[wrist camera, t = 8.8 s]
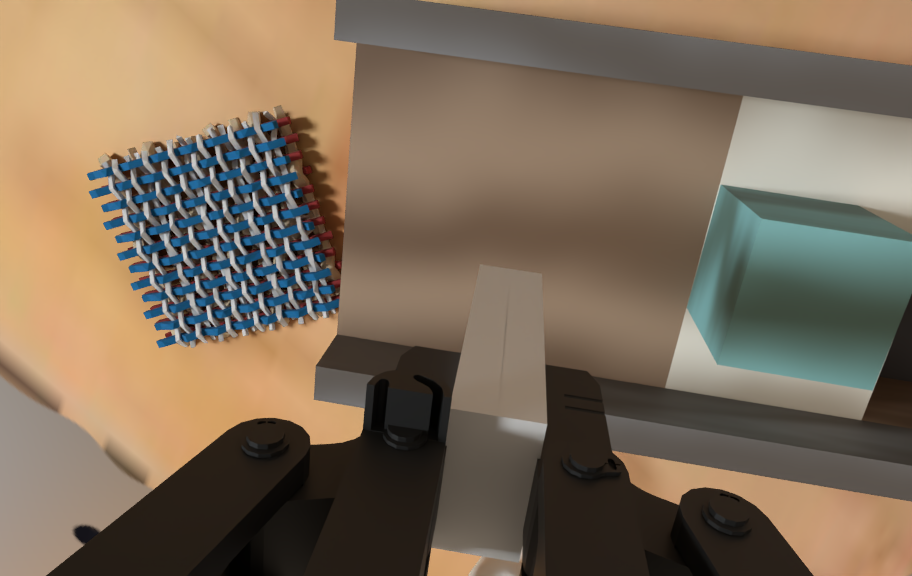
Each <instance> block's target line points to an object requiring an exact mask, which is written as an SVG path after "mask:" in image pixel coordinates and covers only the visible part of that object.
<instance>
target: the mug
mask: <svg viewBox="0 0 912 576" xmlns="http://www.w3.org/2000/svg"><path fill="white" fill-rule="evenodd" d="M522 549H523V546H522ZM521 565H522V550H521V555H520V560H519V563H518V562H512V561H506V560H500V559H495V558H489V557H483V556H482V557H481V558H480V559H479V561H478V562H477V563H476V565H475V566H474V567H473V569H472V570H471V572H470V573H469V575H468V576H519V574H520V570H521Z"/></svg>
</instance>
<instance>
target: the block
mask: <svg viewBox="0 0 912 576" xmlns="http://www.w3.org/2000/svg"><path fill="white" fill-rule="evenodd" d="M911 294H912V234H910V233H908V232H906V231H905V230H903V229H901V228H899V227H897V226H895V225H893V224H892V223H890V222H888V221H886V220H884V219H882V218H881V217H879V216H877V215H875V214H873V213H871V212H869V211H868V210H866V209H864V208H862V207H860V206H858V205H852V204H845V203H839V202H832V201H825V200H819V199H812V198H806V197H799V196H793V195H786V194H780V193H773V192H766V191H760V190H753V189H747V188H740V187H734V186H727V185H721V186H720V189H719V193H718V196H717V200H716V204H715V207H714V211H713V214H712V218H711V222H710V225H709V229H708V232H707V236H706V240H705V243H704V247H703V250H702V254H701V258H700V261H699V265H698V269H697V272H696V276H695V279H694V283H693V287H692V290H691V294H690V297H689V301H688V305H687V309H688V311H689V313H690V315H691V317H692V319H693V320H694V322H695V324H696V326H697V328H698V330H699V332H700V333H701V335H702V337H703V339H704V341H705V343H706V345H707V346H708V348H709V350H710V352H711V354H712V356H713V358H714V360H715V361H716V363H717V365H722V366H728V367H734V368H740V369H746V370H752V371H758V372H764V373H770V374H776V375H782V376H788V377H794V378H799V379H805V380H811V381H817V382H823V383H829V384H835V385H841V386H847V387H853V388H859V389H865V390H871V391H873V388H874V386H875V383H876V381H877V378H878V376H879V374H880V371H881V369H882V366H883V364H884V361H885V359H886V356H887V354H888V351H889V349H890V346H891V344H892V341H893V339H894V336H895V334H896V331H897V329H898V327H899V324H900V322H901V319H902V317H903V314H904V312H905V309H906V307H907V304H908V302H909V299H910V297H911Z"/></svg>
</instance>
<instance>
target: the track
mask: <svg viewBox="0 0 912 576" xmlns="http://www.w3.org/2000/svg"><path fill="white" fill-rule="evenodd" d="M334 40H339V41H347V42H354V43H357V47H356V62H355V77H354V91H353V106H352V121H351V136H350V151H349V166H348V180H347V195H346V210H345V225H344V240H343V255H342V270H341V284H340V299H339V314H338V329H337V335H336V337H335V338H334V340H333V341H332V343H331V344H330V346H329V347H328V349H327V350H326V352H325V353H324V355H323V356H322V358H321V359H320V361H319V362H318V364H317V365H316V373H315V390H314V400H319V401H325V402H331V403H337V404H343V405H349V406H355V407H360V408H365V399H366V387H367V383H368V382H369V381H370V380H371V379H372V378H373V377H374V376H376V375H378V374H381V373H383V372H385V371H392V370H396V367H397V365H398V362H399V359H400V357H401V355H403V354H404V353H406V352H407V351H408V350H410V349H411V348H413V347H414V346H421V347H427V348H433V349H440V350H446V351H452V352H458V353H461V352H462V347H463V342H464V338H465V333H466V328H467V324H468V319H469V314H470V310H471V305H472V300H473V296H474V291H475V286H476V282H477V277H478V272H479V268H480V264H481V265H488V266H494V267H501V268H508V269H514V270H521V271H527V272H534V273H541V274H542V290H543V318H544V347H545V364H546V365H552V366H558V367H565V368H571V369H577V370H584V371H588V372H589V373H590V375H591V376H592V377H593V378H594V379H595V380H596V381H597V383H598V384H599V385H600V388H601V394H602V399H603V401H602V403H603V404H604V410H605V415H606V421H607V426H608V432H609V437H610V443H611V448H612V450H613V451H619V452H625V453H630V454H636V455H642V456H648V457H654V458H660V459H666V460H671V461H677V462H683V463H689V464H695V465H701V466H707V467H713V468H718V469H724V470H730V471H736V472H742V473H748V474H754V475H759V476H765V477H771V478H777V479H783V480H789V481H795V482H801V483H806V484H812V485H818V486H824V487H830V488H836V489H842V490H848V491H853V492H859V493H865V494H871V495H877V496H883V497H889V498H894V499H900V500H906V501H912V294H911V297H910V299H909V302H908V304H907V307H906V309H905V312H904V314H903V317H902V319H901V322H900V324H899V327H898V329H897V331H896V334H895V336H894V339H893V341H892V344H891V346H890V349H889V351H888V354H887V356H886V359H885V361H884V364H883V366H882V369H881V371H880V374H879V376H878V378H877V381H876V383H875V386H874V388H873V391H871V390H865V389H859V388H853V387H847V386H841V385H835V384H829V383H823V382H817V381H811V380H805V379H799V378H794V377H788V376H782V375H776V374H770V373H764V372H758V371H752V370H746V369H740V368H734V367H728V366H722V365H717V363H716V361H715V360H714V358H713V356H712V354H711V352H710V350H709V348H708V346H707V345H706V343H705V341H704V339H703V337H702V335H701V333H700V332H699V330H698V328H697V326H696V324H695V322H694V320H693V319H692V317H691V315H690V313H689V311H688V309H687V305H688V301H689V297H690V294H691V290H692V287H693V283H694V279H695V276H696V272H697V269H698V265H699V261H700V258H701V254H702V250H703V247H704V243H705V240H706V236H707V232H708V229H709V225H710V222H711V218H712V214H713V211H714V207H715V204H716V200H717V196H718V193H719V189H720V186H721V185H727V186H734V187H740V188H747V189H753V190H760V191H766V192H773V193H780V194H786V195H793V196H799V197H806V198H812V199H819V200H825V201H832V202H839V203H845V204H852V205H858V206H860V207H862V208H864V209H866V210H868V211H869V212H871V213H873V214H875V215H877V216H879V217H881V218H882V219H884V220H886V221H888V222H890V223H892V224H893V225H895V226H897V227H899V228H901V229H903V230H905V231H906V232H908V233H910V234H912V66H910V65H903V64H895V63H888V62H880V61H872V60H865V59H857V58H850V57H842V56H835V55H827V54H819V53H812V52H804V51H797V50H789V49H782V48H774V47H766V46H759V45H751V44H744V43H736V42H729V41H721V40H713V39H706V38H698V37H691V36H683V35H676V34H668V33H660V32H653V31H645V30H638V29H630V28H623V27H615V26H607V25H600V24H592V23H585V22H577V21H570V20H562V19H554V18H547V17H539V16H532V15H524V14H517V13H509V12H501V11H494V10H486V9H479V8H471V7H464V6H456V5H448V4H441V3H433V2H426V1H418V0H336V15H335V33H334Z"/></svg>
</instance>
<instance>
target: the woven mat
mask: <svg viewBox="0 0 912 576" xmlns="http://www.w3.org/2000/svg"><path fill="white" fill-rule="evenodd" d="M273 110H274V114H275V117H276V118H275V117H273V116H272V115H271V114H270V113H269V112H268V111H265V112H263V114H264V116H265V117H266V118H267V119H269V120H270V121H269V122H265V123H261V117H260V112H248V122H246V121H244V122H243V123H240V121H239V119H238V117H237V118H233V119H230V120H228V121H229V126H228V127H227V131H228V133H226V132H225V129H224V126H223V125H219V126H217V127H218V129H217V128H216V127H215V126H214V125H212V124H211V123H209V124H208V125H207V126H206V127H205V128H204V129H203V130H202V131H203V132H204V133H205V135H206V136H207V138H208V139H205V140H203V139H202V135H200V134H198V135H196V136H191V137H189V138H186V139H185V140H186V142H187V143H186V142H185V141H184V139H183V138H182V137H180V136H177V140H178V142H179V143H180V144H181V147H179V145H178V142H174V143H173V140H166V141H167V149H168V150H167V151H163V150H162V148H161V147H160V146H159V147H157V148H156V147H155V145H154V143H153V142H143V144H142V150H141V155H140V156H141V158H140V156H139V154H138V152H137V150H136V148H135V147H134V148H130V149H128V152H129V155H128V156H125V157H123V158H124V159H125V160H126V161H127V162H124V163H121V164H118V161H117V159H112V158H111V157H110V156H109V155H107V154H106V153H105V154H103V155H102V156H101V157H100V158H98V160H99V163H100V166H101V167H102V168H103V169H101V170H97V171H94V172H90V173H88V174H87V175H88V178H89V180H95V179H99V178H103V177H107V176H108V181H109V185H107V186H102V187H101V188H98V189H95V190H92V191H89V193H90V195H91V197H92V199H93V198H97V197H100V196H103V195H107V194H110V193H113V194H114V195H115V196H116V197H117V198H118V199H119V200H116V201H112V202H109V203H107V204H103V205H102V206H101V207H102V209H103V211H104V212H108V211H113V210H118V209H122V212H123V216H120V217H116V218H113V219H112V220H111V221H107V222H104V223H103V224H104V226H105V228H106V230H108V229H112V228H115V227H119V226H122V225H125V224H126V225H127V226H128V227H129V228H130V229H131V230H132V231H129V232H125V233H121V234H120V235H117V236H116V237H115V238H116V241H117V243H122V242H129V241H133V247H130V248H128V250H127V251H124V252H121V253H118V254H117V255H118V257H119V259H120V261H121V260H125V259H128V258H131V257H135V256H139V257H140V258H141V259H142V260H143V261H141V262H137V263H134V264H132V265H131V266H129V270H130V272H131V273H134V272H145V271H149V276H145V277H141V278H139V279H140V281H137V282H134V283H131V286H132V288H133V290H137V289H141V288H144V287H147V286H151V285H152V286H153V287H154V288H156V290H152V291H148V292H146V293H145V294H144V295H142V299H143V301H144V302H147V301H162V304H159V305H155V306H152V307H151V308H150V309H151V310H148V311H146V312H144V315H145V317H146V319H149V318H153V317H156V316H159V315H163V314H165V315H166V316H167V317H168V318H165V319H161V320H159V321H158V322H156V323H155V325H154V326H155V328H156V330H171V332H168V333H166V334H165V336H166V338H164V339H160V340H158V341H156V342H157V344H158V346H159V348H161V347H165V346H168V345H172V344H175V343H177V344H179V345H182V346H184V347H188V346H189V345H191V348H194V347H196V339H200V340H201V341H202V342H204V343H208V342H207V341H206V339H205V338H204V336H205V335H210V336H211V339H212V340H214V339H216V338H215V336H218V338H219V342H221V341H224V338H225V337H229V336H230V335H231V336H232V337H233V338H235V337H237V336H238V334H237V333H236V332H235V331H234V330H237V329H242V333H243V336H247V335H249V333H248V328H249V327H251V329H252V331H256V330H258V329H259V330H260V331H264V332H265V330H266V328H265V327H266V326H269V330H271V331H273V330H275V322H278V323H280V324H282V326H283V327H285V326H287V325H288V324H287V323H289V322H290V318H292V319H293V320H295V319H296V318H298V324H304V318H303V316H304V315H306V314H309V315H310V316H311V317H312V318H313V319H314V320H318V318H319V317H318V315H319V316H321V317H322V316H323V318H328V317H329V313H328V311H330V310H331V313H332V314H333V313H336V310H335V308H338V307H339V299H340V284H341V274H340V272H339V271H338V270H337V269H342V261H335V254H336V252H335V249H334V247H332V248H331V245H330V242H329V239H333V236H332V232H331V231H328V232H326V230H325V227H324V224H325V223H326V222H325V219H324V216H320V213H319V210H318V208H319V207H320V205H319V202H318V200H315V198H314V195H313V192H314V191H315V189H314V186H313V184H311V185H310V182H309V180H308V179H307V177H306V176H305V175H307V174H310V173H312V170H311V167H310V166H305V167H302V158H303V155H302V152H301V150H299V151H298V149H297V146H296V143H295V142H297V141H299V138H298V135H297V133H294V134H293V133H292V130H291V127H290V124H292V123H291V120H290V117H286V115H285V113H284V111H283V109H282V107H281V105H280V106H277V107H273ZM241 124H242V126H243V127H244V129H243V128H242V126H241ZM277 128H279V132H280V136H281V137H279V138H277ZM270 130H271V139H270V136H269V135H268V134H267V132H266V131H270ZM246 137H248V142H247V139H246ZM230 142H231V143H232V144H231V143H230ZM255 142H256V144H255ZM232 145H233V146H234V147H235V148H234V147H233V146H232ZM282 146H284V149H285V152H286V154H285V155H282V153H281V150H280V147H282ZM209 147H213V148H214V151H215V153H216V155H214V156H211V155H210V153H209V152H208V151H207V149H206V148H209ZM235 149H236V150H235ZM228 150H229V151H228ZM274 150H275V151H274ZM157 152H158V153H157ZM260 152H262V155H263V158H264V160H263V161H262V159H261V157H260V156H259V154H258V153H260ZM275 153H276V154H275ZM183 155H184V157H183ZM253 157H254V158H255V160H256V161H257V162H254V163H253ZM170 158H171V160H172V161H173V163H174V164H175V167H171V168H168V159H170ZM217 164H220V166H221V169H222V172H219V173H215V165H217ZM285 164H287V168H286V165H285ZM266 169H268V172H269V175H270V177H267V178H266ZM127 170H131V179H127V178H126V177H125V176H124V174H123V173H122V172H123V171H127ZM258 171H260V174H259V173H258ZM195 172H196V173H197V174H198V176H199V177H200V178H197V176H196V173H195ZM178 174H179V177H180V183H179V184H177V183H176V182H175V181H174V179H173V178H172V177H171V176H174V175H178ZM242 176H243V178H244V179H245V180H246V182H247V183H244V181H243V178H242ZM223 180H226V182H227V185H228V188H225V189H224V188H223V187H222V186H221V185H220V183H219V181H223ZM290 181H291V182H292V183H293V184H294V186H295V187H296V188H295V189H292V190H291V188H290ZM154 182H155V186H156V190H154ZM203 186H204V193H203V191H202V188H201V187H203ZM269 186H274V189H275V191H276V194H275V193H274V192H273V191H272V190H271V188H270V187H269ZM133 187H134V188H135V189H136V190H137V191H138V193H139V194H138V195H134V196H132V191H131V188H133ZM182 191H184V192H185V193H186V194H187V197H188V198H187V199H183V200H181V192H182ZM249 192H252V196H253V200H251V199H250V196H249V194H248V193H249ZM266 192H267V193H266ZM267 194H268V196H267ZM229 197H232V198H233V200H234V203H235V204H233V205H229V206H228V198H229ZM299 197H301V199H302V202H303V204H299V205H297V204H296V202H295V200H294V198H299ZM158 198H159V200H160V201H161V202H162V203H163V204H164V205H160V202H159V200H158ZM137 203H141V210H140V209H139V208H138V207H137V206H136V204H137ZM206 203H208V204H209V205H210V207H211V208H212V209H213V210H207V207H206ZM277 203H280V205H281V208H282V209H280V210H278V205H277ZM271 205H272V207H271ZM184 208H188V212H187V211H186V210H185V209H184ZM253 209H256V211H257V212H258V213H259V215H254V212H253ZM306 213H307V215H303V214H306ZM166 214H169V221H167V219H166V217H165V215H166ZM231 214H235V219H234V218H233V216H232V215H231ZM215 219H216V220H217V226H214V225H213V224H212V222H211V221H210V220H215ZM281 219H283V221H282V220H281ZM302 219H306V220H302ZM145 220H146V221H147V222H149V223H150V224H151V225H152V226H148V227H145ZM257 225H264V228H265V231H261V232H260V230H259V228H258V227H257ZM278 225H279V226H278ZM194 226H195V227H196V228H197V229H198V230H197V231H194ZM171 230H172V231H173V232H174V233H175V234H176V236H174V237H173V235H172V233H171ZM305 230H306V231H305ZM240 231H242V232H243V234H244V235H245V236H241V237H240ZM312 231H313V233H314V235H313V236H309V237H308V235H309V234H310V233H311V232H312ZM155 234H159V235H160V237H161V240H152V239H151V238H150V237H149V235H155ZM218 235H220V236H221V237H222V238H223V239H224V240H225V241H221V242H220V241H219V239H218ZM283 238H284V240H283ZM201 239H205V242H206V244H207V245H201V244H200V243H199V242H198V241H197V240H201ZM289 239H290V240H291V241H289ZM266 240H267V241H268V243H269V244H270V245H271V246H268V247H266V246H265V243H264V241H266ZM246 245H251V247H252V250H246V249H245V248H244V246H246ZM317 245H318V248H319V251H315V252H313V251H312V247H314V246H317ZM177 246H181V250H180V251H179V249H178V247H177ZM162 249H166V251H167V253H168V255H164V256H160V257H159V256H158V251H160V250H162ZM296 250H297V253H298V255H295V254H294V253H293V251H296ZM223 251H227V256H225V254H224V253H223ZM208 255H211V257H212V259H213V260H211V261H206V256H208ZM288 255H289V256H288ZM269 257H273V261H271V260H270V258H269ZM255 260H257V263H258V265H256V266H252V261H255ZM316 261H317V262H321V265H318V264H317V263H316ZM184 262H185V263H186V264H187V265H188V266H185V264H184ZM165 265H173V267H174V270H170V271H165V269H164V268H163V267H162V266H165ZM230 266H232V267H233V268H234V269H235V271H231V270H230ZM300 267H303V271H301V269H300ZM212 270H217V272H218V274H219V275H215V276H213V274H212V273H211V272H210V271H212ZM277 271H279V273H280V274H281V275H282V276H278V277H277V276H276V272H277ZM255 276H263V279H264V280H261V281H258V280H257V278H256V277H255ZM190 277H194V278H195V280H194V281H191V278H190ZM176 279H179V282H180V284H177V285H173V286H171V281H173V280H176ZM325 279H326V280H327V281H328V282H326V280H325ZM240 281H241V285H240V286H239V285H238V284H237V283H236V282H240ZM303 281H308V284H309V286H306V284H305V283H304V282H303ZM220 285H223V286H224V289H222V290H219V289H218V286H220ZM281 287H287V289H288V291H284V292H283V291H282V290H281ZM300 287H301V288H300ZM202 288H203V289H202ZM267 290H268V292H269V295H266V296H264V295H263V292H264V291H267ZM195 291H197V292H198V293H197V294H195ZM333 292H335V295H336V296H332V297H331V295H330V294H331V293H333ZM175 295H179V299H177V298H176V297H175ZM312 296H313V298H314V301H312V298H311V297H312ZM245 298H246V299H245ZM304 299H306V302H305V300H304ZM221 300H225V303H223V302H222V301H221ZM289 301H290V302H291V303H292V304H290V303H289ZM284 304H285V305H284ZM202 306H206V308H207V309H205V310H204V309H203V307H202ZM266 306H270V309H268V308H267V307H266ZM183 310H186V311H187V312H188V313H187V314H184V312H183ZM252 311H253V314H251V312H252ZM317 314H318V315H317ZM230 315H231V316H232V317H233V318H234V319H232V320H231V318H230ZM209 321H210V322H211V323H212V324H210V323H209ZM187 324H195V327H190V326H189V327H188V326H187ZM257 328H258V329H257Z"/></svg>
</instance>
